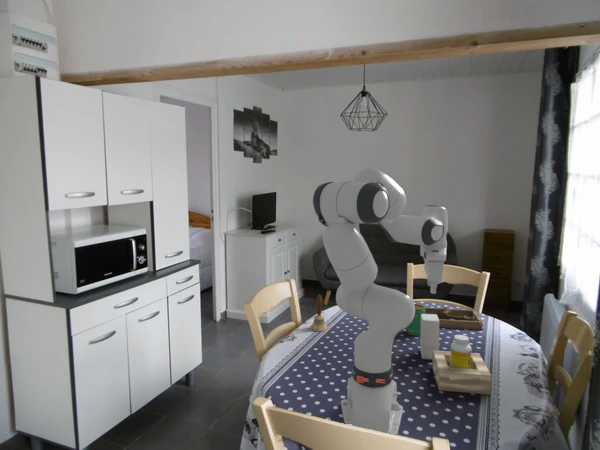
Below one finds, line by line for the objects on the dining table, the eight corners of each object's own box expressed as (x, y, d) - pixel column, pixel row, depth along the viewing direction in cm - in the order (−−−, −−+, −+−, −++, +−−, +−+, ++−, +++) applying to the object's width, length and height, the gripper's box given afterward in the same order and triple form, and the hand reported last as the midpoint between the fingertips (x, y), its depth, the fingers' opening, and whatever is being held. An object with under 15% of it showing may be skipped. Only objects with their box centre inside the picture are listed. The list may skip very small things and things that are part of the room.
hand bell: (331, 327, 192) (331, 293, 190) (322, 333, 185) (322, 298, 183) (315, 323, 196) (315, 291, 194) (306, 329, 189) (306, 295, 187)
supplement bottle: (470, 378, 140) (472, 342, 138) (449, 375, 142) (451, 339, 140) (469, 369, 146) (471, 335, 144) (449, 366, 148) (451, 332, 147)
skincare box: (438, 360, 159) (440, 321, 156) (420, 359, 160) (422, 320, 158) (436, 351, 167) (437, 313, 164) (419, 349, 168) (420, 312, 166)
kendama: (472, 331, 187) (427, 321, 198) (476, 325, 195) (433, 315, 206) (473, 318, 187) (428, 309, 197) (477, 312, 195) (434, 304, 205)
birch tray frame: (490, 395, 135) (491, 375, 134) (438, 391, 138) (439, 371, 137) (478, 371, 151) (479, 353, 150) (432, 368, 154) (433, 350, 153)
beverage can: (428, 333, 184) (429, 307, 182) (416, 337, 180) (417, 311, 178) (414, 327, 191) (415, 302, 189) (402, 331, 186) (403, 305, 185)
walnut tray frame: (482, 329, 188) (482, 322, 187) (422, 326, 192) (422, 319, 192) (473, 316, 204) (474, 310, 203) (418, 313, 208) (418, 307, 208)
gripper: (421, 245, 157) (419, 280, 159) (426, 256, 137) (425, 297, 139) (438, 246, 155) (437, 281, 157) (446, 257, 136) (444, 298, 137)
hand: (431, 289), depth 148 cm, fingers open, 8 cm apart
